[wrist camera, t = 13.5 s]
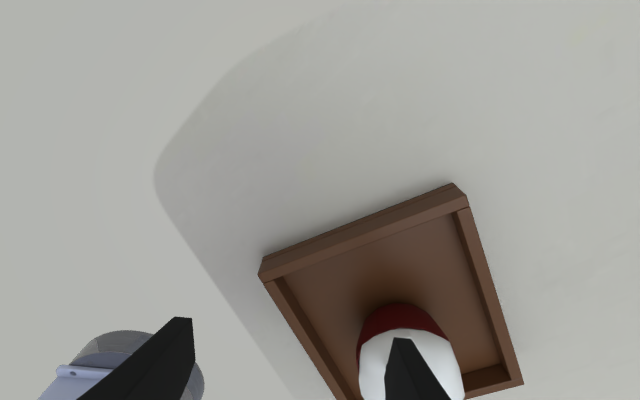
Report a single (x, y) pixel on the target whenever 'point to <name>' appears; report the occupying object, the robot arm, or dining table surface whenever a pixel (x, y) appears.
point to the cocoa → (424, 335)
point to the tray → (396, 289)
